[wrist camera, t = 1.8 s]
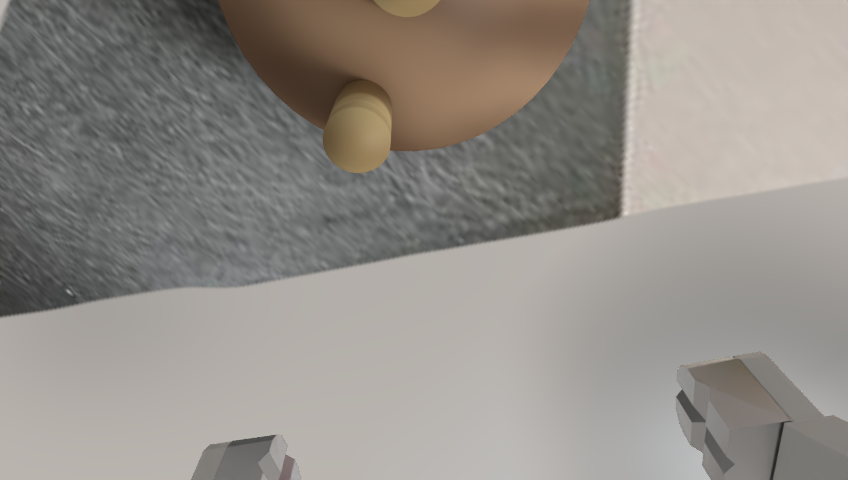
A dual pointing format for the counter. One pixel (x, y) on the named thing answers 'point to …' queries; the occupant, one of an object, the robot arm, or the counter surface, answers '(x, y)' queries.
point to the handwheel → (403, 65)
